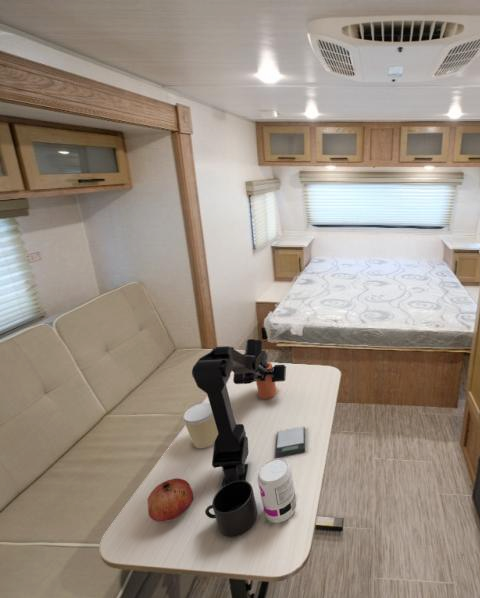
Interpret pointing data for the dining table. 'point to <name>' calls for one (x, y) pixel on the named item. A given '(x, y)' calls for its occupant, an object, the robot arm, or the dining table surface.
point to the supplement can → (277, 490)
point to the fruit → (169, 500)
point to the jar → (266, 386)
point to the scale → (290, 441)
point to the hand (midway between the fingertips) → (266, 378)
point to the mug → (234, 508)
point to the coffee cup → (201, 425)
